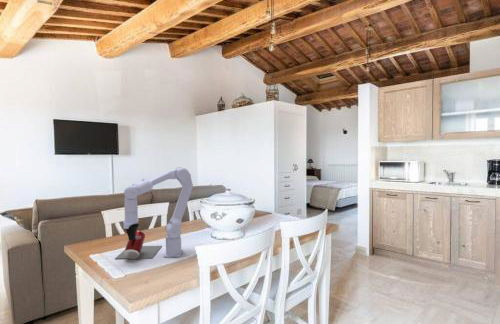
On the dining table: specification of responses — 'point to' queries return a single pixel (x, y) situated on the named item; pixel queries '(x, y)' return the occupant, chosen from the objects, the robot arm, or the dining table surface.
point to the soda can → (134, 246)
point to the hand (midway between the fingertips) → (131, 240)
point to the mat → (143, 253)
